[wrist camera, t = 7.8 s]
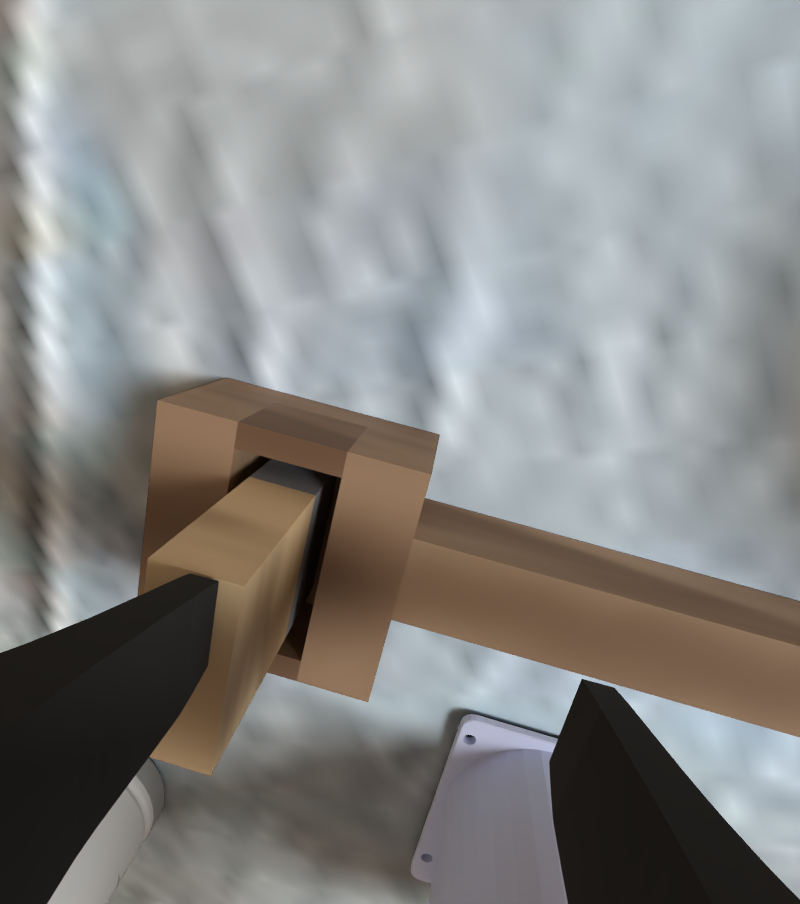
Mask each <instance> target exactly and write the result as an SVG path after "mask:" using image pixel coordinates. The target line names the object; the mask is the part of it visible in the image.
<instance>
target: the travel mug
mask: <svg viewBox="0 0 800 904" xmlns="http://www.w3.org/2000/svg"><path fill="white" fill-rule="evenodd" d="M164 801H165V791H164V784H163V781H162V777H161V775H160V773H159V771H158V769H157V767H156V766H155V764H154V763H153V762H152V761H151V759H150V758H148V759H147V761H146V762H145V763H144V765H143V766H142V767H141V769H140V770H139V771H138V773H137V774H136V775H135V777H134V778H133V779H132V781H131V782H130V783H129V785H128V786H127V788H126V789H125V790H124V792H123V793H122V794H121V796H120V797H119V798H118V800H117V801H116V802H115V804H114V805H113V806H112V808H111V809H110V810H109V812H108V813H107V815H106V816H105V817H104V819H103V820H102V821H101V823H100V824H99V825H98V827H97V828H96V829H95V831H94V832H93V834H92V835H91V837H90V838H89V840H88V841H87V842H86V844H85V845H84V847H83V848H82V850H81V851H80V853H79V854H78V856H77V857H76V858H75V860H74V862H73V863H72V865H71V866H70V868H69V870H68V871H67V873H66V874H65V876H64V878H63V879H62V881H61V882H60V884H59V886H58V887H57V889H56V891H55V892H54V894H53V895H52V897H51V899H50V900H49V902H48V903H47V904H107V902H108V900H109V899H110V897H111V895H112V894H113V892H114V890H115V889H116V887H117V885H118V884H119V882H120V880H121V879H122V877H123V875H124V874H125V872H126V870H127V869H128V867H129V865H130V864H131V862H132V860H133V859H134V857H135V855H136V854H137V852H138V850H139V848H140V846H141V844H142V842H143V841H144V840H145V839H146V837H147V835H148V834H149V832H150V830H151V829H152V827H153V825H154V824H155V822H156V820H157V819H158V817H159V815H160V813H161V811H162V809H163V806H164Z"/></svg>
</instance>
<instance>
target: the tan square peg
mask: <svg viewBox="0 0 800 904" xmlns="http://www.w3.org/2000/svg"><path fill="white" fill-rule="evenodd" d="M336 480H337V477H336V476H333V475H329V474H325V473H322V472H318V471H315V470H311V469H307V468H304V467H300V466H296V465H293V464H289V463H285V462H282V461H278V460H275V459H271V460H270V461H268V462H267V463H266V464H265V465H263V466H262V467H261V468H260V469H258V470H257V471H256V472H255V473H253V474H252V475H251V476H250V477H248V478H247V479H246V480H245V481H243V482H242V483H241V484H240V485H238V486H237V487H236V488H235V489H233V490H232V491H231V492H230V493H228V494H227V495H226V496H225V497H223V498H222V499H221V500H220V501H218V502H217V503H216V504H215V505H213V506H212V507H211V508H210V509H208V510H207V511H206V512H205V513H204V514H202V515H201V516H200V517H199V518H197V519H196V520H195V521H194V522H192V523H191V524H190V525H189V526H187V527H186V528H185V529H184V530H182V531H181V532H180V533H179V534H177V535H176V536H175V537H174V538H172V539H171V540H170V541H169V542H167V543H166V544H165V545H164V546H162V547H161V548H160V549H159V550H157V551H156V552H155V553H154V554H152V555H151V556H150V557H149V558H148V560H147V569H146V578H145V587H144V593H146V592H148V591H151V590H153V589H155V588H157V587H159V586H161V585H164V584H166V583H168V582H170V581H172V580H175V579H177V578H179V577H182V576H184V575H187V574H189V573H191V574H195V575H199V576H202V577H206V578H210V579H213V580H217V581H219V585H218V593H217V600H216V608H215V615H214V623H213V631H212V638H211V646H210V653H209V661H208V667H207V668H206V670H205V672H204V674H203V676H202V677H201V679H200V681H199V683H198V685H197V686H196V688H195V690H194V692H193V693H192V695H191V697H190V699H189V700H188V702H187V704H186V705H185V707H184V709H183V710H182V712H181V714H180V715H179V717H178V718H177V719H176V721H175V722H174V724H173V725H172V726H171V728H170V729H169V731H168V732H167V733H166V735H165V736H164V737H163V739H162V740H161V741H160V743H159V744H158V746H157V747H156V748H155V750H154V751H153V752H152V754H151V755H150V756H149V757H151V758H154V759H157V760H161V761H164V762H167V763H170V764H173V765H177V766H180V767H183V768H186V769H189V770H193V771H196V772H199V773H202V774H205V775H209V776H211V774H212V773H213V771H214V769H215V767H216V765H217V763H218V762H219V760H220V758H221V756H222V754H223V752H224V750H225V749H226V747H227V745H228V743H229V741H230V739H231V738H232V736H233V734H234V732H235V730H236V728H237V726H238V725H239V723H240V721H241V719H242V717H243V715H244V714H245V712H246V710H247V708H248V706H249V704H250V702H251V701H252V699H253V697H254V695H255V693H256V691H257V690H258V688H259V686H260V684H261V682H262V680H263V678H264V677H265V675H266V673H267V671H268V669H269V667H270V666H271V664H272V662H273V660H274V658H275V656H276V654H277V653H278V651H279V649H280V647H281V645H282V643H283V642H284V640H285V638H286V636H287V634H288V632H289V630H290V629H291V627H292V625H293V623H294V621H295V619H296V618H297V616H298V614H299V612H300V610H301V608H302V606H303V605H304V603H305V601H306V599H307V597H308V595H309V594H310V592H311V590H312V588H313V583H314V579H315V574H316V570H317V565H318V561H319V556H320V552H321V547H322V543H323V538H324V534H325V530H326V525H327V521H328V516H329V512H330V507H331V503H332V498H333V494H334V489H335V485H336Z"/></svg>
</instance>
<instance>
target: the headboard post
mask: <svg viewBox="0 0 800 904" xmlns="http://www.w3.org/2000/svg"><path fill="white" fill-rule="evenodd" d="M438 440H439V434H435V433H431V432H428V431H424V430H420V429H416V428H413V427H409V426H405V425H401V424H398V423H394V422H390V421H387V420H383V419H379V418H375V417H372V416H368V415H364V414H360V413H357V412H353V411H349V410H346V409H342V408H338V407H334V406H331V405H327V404H323V403H319V402H316V401H312V400H308V399H305V398H301V397H297V396H293V395H290V394H286V393H282V392H278V391H275V390H271V389H267V388H264V387H260V386H256V385H252V384H249V383H245V382H241V381H237V380H234V379H230V378H225V379H222V380H219V381H216V382H213V383H210V384H206V385H203V386H200V387H197V388H194V389H191V390H187V391H184V392H181V393H178V394H175V395H171V396H168V397H165V398H162V399H159V400H157V409H156V419H155V429H154V439H153V449H152V459H151V469H150V478H149V488H148V498H147V508H146V518H145V528H144V537H143V547H142V557H141V567H140V577H139V587H138V596H140V595H142V594H144V587H145V578H146V569H147V560H148V558H149V557H150V556H151V555H152V554H154V553H155V552H156V551H157V550H159V549H160V548H161V547H162V546H164V545H165V544H166V543H167V542H169V541H170V540H171V539H172V538H174V537H175V536H176V535H177V534H179V533H180V532H181V531H182V530H184V529H185V528H186V527H187V526H189V525H190V524H191V523H192V522H194V521H195V520H196V519H197V518H199V517H200V516H201V515H202V514H204V513H205V512H206V511H207V510H208V509H210V508H211V507H212V506H213V505H215V504H216V503H217V502H218V501H220V500H221V499H222V498H223V497H225V496H226V495H227V494H228V493H230V492H231V491H232V490H233V489H235V488H236V487H237V486H238V485H240V484H241V483H242V482H243V481H245V480H246V479H247V478H248V477H250V476H251V475H252V474H253V473H255V472H256V471H257V470H258V469H260V468H261V467H262V466H263V465H265V464H266V463H267V462H268V461H270V460H271V459H275V460H278V461H282V462H285V463H289V464H293V465H296V466H300V467H304V468H307V469H311V470H315V471H318V472H322V473H325V474H329V475H333V476H336V477H337V480H336V485H335V489H334V494H333V498H332V503H331V507H330V512H329V516H328V521H327V525H326V530H325V534H324V538H323V543H322V547H321V552H320V556H319V561H318V565H317V570H316V574H315V579H314V583H313V588H312V590H311V592H310V594H309V595H308V597H307V599H306V601H305V603H304V605H303V606H302V608H301V610H300V612H299V614H298V616H297V618H296V619H295V621H294V623H293V625H292V627H291V629H290V630H289V632H288V634H287V636H286V638H285V640H284V642H283V643H282V645H281V647H280V649H279V651H278V653H277V654H276V656H275V658H274V660H273V662H272V664H271V666H270V667H269V669H268V671H267V672H268V673H271V674H275V675H278V676H281V677H285V678H288V679H291V680H295V681H298V682H302V683H305V684H308V685H312V686H315V687H318V688H322V689H325V690H329V691H332V692H335V693H339V694H342V695H345V696H349V697H352V698H356V699H359V700H362V701H366V702H368V701H369V697H370V693H371V690H372V686H373V683H374V679H375V675H376V672H377V668H378V665H379V661H380V657H381V654H382V650H383V647H384V643H385V639H386V636H387V632H388V629H389V625H390V621H391V620H394V621H398V622H401V623H405V624H408V625H412V626H415V627H419V628H422V629H426V630H429V631H433V632H436V633H439V634H443V635H446V636H450V637H453V638H457V639H460V640H464V641H467V642H471V643H474V644H478V645H481V646H485V647H488V648H492V649H495V650H498V651H502V652H505V653H509V654H512V655H516V656H519V657H523V658H526V659H530V660H533V661H537V662H540V663H544V664H547V665H551V666H554V667H558V668H561V669H564V670H568V671H571V672H575V673H578V674H582V675H585V676H589V677H592V678H596V679H599V680H603V681H606V682H610V683H613V684H617V685H620V686H624V687H627V688H630V689H634V690H637V691H641V692H644V693H648V694H651V695H655V696H658V697H662V698H665V699H669V700H672V701H676V702H679V703H683V704H686V705H690V706H693V707H696V708H700V709H703V710H707V711H710V712H714V713H717V714H721V715H724V716H728V717H731V718H735V719H738V720H742V721H745V722H749V723H752V724H756V725H759V726H762V727H766V728H769V729H773V730H776V731H780V732H783V733H787V734H790V735H794V736H797V737H800V601H796V600H793V599H789V598H785V597H782V596H778V595H774V594H771V593H767V592H764V591H760V590H756V589H753V588H749V587H745V586H742V585H738V584H734V583H731V582H727V581H724V580H720V579H716V578H713V577H709V576H705V575H702V574H698V573H694V572H691V571H687V570H684V569H680V568H676V567H673V566H669V565H665V564H662V563H658V562H654V561H651V560H647V559H644V558H640V557H636V556H633V555H629V554H625V553H622V552H618V551H614V550H611V549H607V548H604V547H600V546H596V545H593V544H589V543H585V542H582V541H578V540H574V539H571V538H567V537H564V536H560V535H556V534H553V533H549V532H545V531H542V530H538V529H534V528H531V527H527V526H524V525H520V524H516V523H513V522H509V521H505V520H502V519H498V518H494V517H491V516H487V515H484V514H480V513H476V512H473V511H469V510H465V509H462V508H458V507H454V506H451V505H447V504H444V503H440V502H436V501H433V500H429V499H425V495H426V492H427V488H428V485H429V481H430V477H431V474H432V469H433V464H434V459H435V454H436V450H437V445H438Z"/></svg>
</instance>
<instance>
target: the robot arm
mask: <svg viewBox="0 0 800 904" xmlns="http://www.w3.org/2000/svg"><path fill="white" fill-rule="evenodd" d="M218 585H219V581H217V580H213V579H210V578H206V577H202V576H199V575H195V574H191V573H189V574H187V575H184V576H182V577H179V578H177V579H175V580H172V581H170V582H168V583H166V584H164V585H161V586H159V587H157V588H155V589H153V590H151V591H148V592H146V593H144V594H142V595H140V596H138V597H135V598H133V599H131V600H129V601H127V602H124V603H122V604H120V605H118V606H115V607H113V608H111V609H109V610H107V611H104V612H102V613H100V614H98V615H95V616H93V617H91V618H89V619H86V620H84V621H81V622H79V623H76V624H74V625H71V626H69V627H66V628H64V629H61V630H59V631H56V632H54V633H51V634H49V635H47V636H44V637H42V638H39V639H37V640H34V641H32V642H29V643H27V644H24V645H21V646H19V647H16V648H13V649H10V650H8V651H5V652H2V653H0V904H47V903H48V902H49V900H50V899H51V897H52V895H53V894H54V892H55V891H56V889H57V887H58V886H59V884H60V882H61V881H62V879H63V878H64V876H65V874H66V873H67V871H68V870H69V868H70V866H71V865H72V863H73V862H74V860H75V858H76V857H77V856H78V854H79V853H80V851H81V850H82V848H83V847H84V845H85V844H86V842H87V841H88V840H89V838H90V837H91V835H92V834H93V832H94V831H95V829H96V828H97V827H98V825H99V824H100V823H101V821H102V820H103V819H104V817H105V816H106V815H107V813H108V812H109V810H110V809H111V808H112V806H113V805H114V804H115V802H116V801H117V800H118V798H119V797H120V796H121V794H122V793H123V792H124V790H125V789H126V788H127V786H128V785H129V783H130V782H131V781H132V779H133V778H134V777H135V775H136V774H137V773H138V771H139V770H140V769H141V767H142V766H143V765H144V763H145V762H146V761H147V759H148V758H149V756H150V755H151V754H152V752H153V751H154V750H155V748H156V747H157V746H158V744H159V743H160V741H161V740H162V739H163V737H164V736H165V735H166V733H167V732H168V731H169V729H170V728H171V726H172V725H173V724H174V722H175V721H176V719H177V718H178V717H179V715H180V714H181V712H182V710H183V709H184V707H185V705H186V704H187V702H188V700H189V699H190V697H191V695H192V693H193V692H194V690H195V688H196V686H197V685H198V683H199V681H200V679H201V677H202V676H203V674H204V672H205V670H206V668H207V667H208V661H209V653H210V646H211V638H212V631H213V623H214V615H215V608H216V600H217V593H218ZM466 735H472V736H474V737H466ZM411 874H412V876H413V877H414V878H416V879H418V880H420V881H424V882H427V883H430V884H431V889H430V904H800V899H799V898H798V897H797V896H796V895H795V894H794V893H793V892H792V891H791V890H790V889H789V888H788V887H787V886H786V885H785V884H784V883H783V882H782V881H781V880H780V879H779V878H778V877H777V876H776V875H775V874H774V873H773V872H772V871H771V870H770V869H769V868H768V867H767V866H766V864H765V863H764V862H763V861H762V860H761V859H760V858H759V857H758V856H757V855H756V854H755V853H754V851H753V850H752V849H751V848H750V847H749V846H748V845H747V844H746V843H745V841H744V840H743V839H742V838H741V837H740V836H739V835H738V834H737V833H736V832H735V830H734V829H733V828H732V827H731V826H730V825H729V824H728V823H727V822H726V820H725V819H724V818H723V817H722V816H721V815H720V814H719V812H718V811H717V810H716V809H715V808H714V807H713V806H712V804H711V803H710V802H709V801H708V800H707V799H706V797H705V796H704V795H703V794H702V793H701V792H700V790H699V789H698V788H697V787H696V786H695V785H694V783H693V782H692V781H691V780H690V779H689V777H688V776H687V775H686V774H685V773H684V771H683V770H682V769H681V768H680V767H679V765H678V764H677V763H676V762H675V760H674V759H673V758H672V757H671V756H670V754H669V753H668V752H667V751H666V749H665V748H664V747H663V746H662V744H661V743H660V742H659V741H658V740H657V738H656V737H655V736H654V735H653V733H652V732H651V731H650V730H649V728H648V727H647V726H646V725H645V724H644V722H643V721H642V720H641V719H640V717H639V716H638V715H637V714H636V713H635V711H634V710H633V709H632V708H631V706H630V705H629V704H628V703H627V702H626V701H625V699H624V698H623V697H622V696H621V695H620V694H619V693H618V691H617V690H616V689H615V688H613V687H610V686H606V685H602V684H598V683H595V682H591V681H587V680H584V679H582V680H581V683H580V685H579V688H578V690H577V693H576V695H575V698H574V700H573V703H572V705H571V708H570V710H569V713H568V715H567V718H566V720H565V723H564V725H563V728H562V730H561V733H560V735H559V738H558V739H557V738H554V737H550V736H547V735H543V734H540V733H537V732H533V731H530V730H527V729H523V728H520V727H516V726H513V725H510V724H506V723H503V722H499V721H496V720H493V719H489V718H486V717H482V716H479V715H475V714H469V715H466V716H464V717H463V718H462V720H461V722H460V725H459V728H458V731H457V733H456V736H455V739H454V742H453V745H452V748H451V751H450V753H449V756H448V759H447V762H446V765H445V768H444V771H443V773H442V776H441V779H440V782H439V785H438V788H437V791H436V793H435V796H434V799H433V802H432V805H431V808H430V811H429V813H428V816H427V819H426V822H425V825H424V828H423V830H422V833H421V836H420V839H419V842H418V845H417V848H416V850H415V853H414V856H413V859H412V862H411Z"/></svg>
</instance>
